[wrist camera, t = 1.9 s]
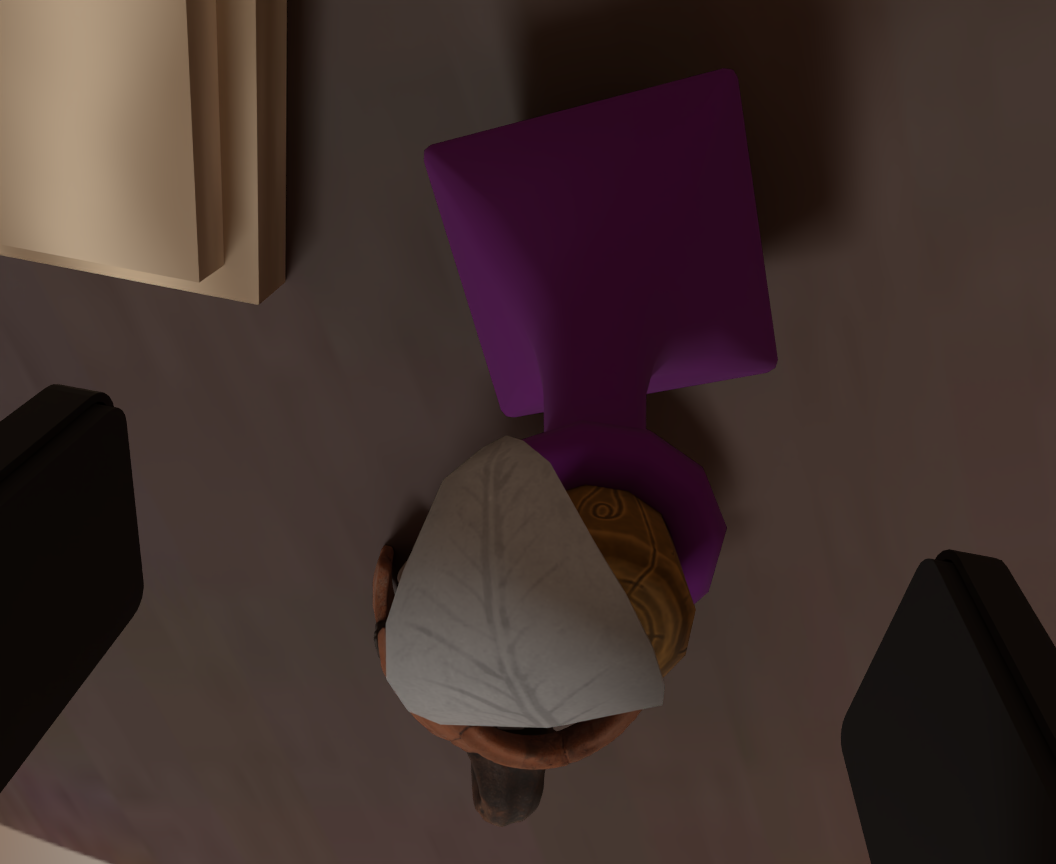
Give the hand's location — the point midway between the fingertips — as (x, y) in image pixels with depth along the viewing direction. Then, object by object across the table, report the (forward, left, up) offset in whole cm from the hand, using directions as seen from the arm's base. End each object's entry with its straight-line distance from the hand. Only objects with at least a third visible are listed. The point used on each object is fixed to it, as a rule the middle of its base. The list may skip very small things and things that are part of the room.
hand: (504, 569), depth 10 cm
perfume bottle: (-1, 0, -16) cm, 16 cm away
